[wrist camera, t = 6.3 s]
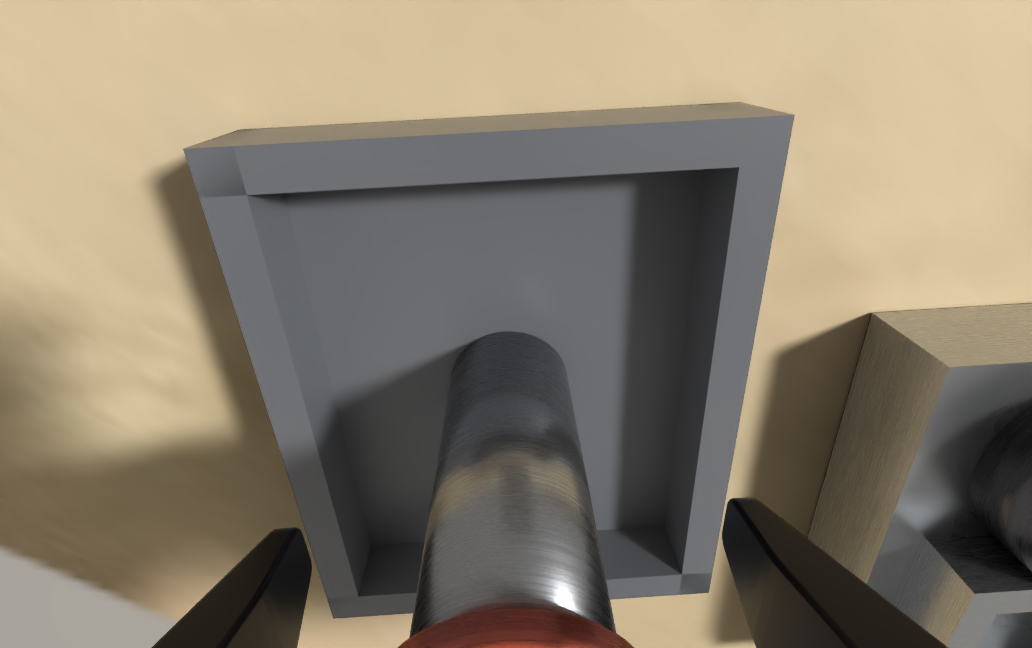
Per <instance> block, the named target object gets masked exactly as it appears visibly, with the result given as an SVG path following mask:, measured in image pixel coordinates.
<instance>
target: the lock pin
mask: <svg viewBox="0 0 1032 648" xmlns="http://www.w3.org/2000/svg"><path fill="white" fill-rule="evenodd" d="M398 648H634V647H633V646H632V645H631V644H630V643H628V642H627V641H626V640H625V639H624V638H622V637H621V636H619V635H618V634H616V629H615V624H614V619H613V613H612V608H611V603H610V597H609V592H608V587H607V582H606V576H605V571H604V566H603V561H602V555H601V550H600V545H599V539H598V534H597V529H596V524H595V518H594V513H593V508H592V502H591V497H590V492H589V487H588V481H587V476H586V471H585V466H584V460H583V455H582V450H581V444H580V439H579V434H578V429H577V423H576V418H575V413H574V408H573V402H572V397H571V392H570V386H569V381H568V376H567V371H566V367H565V365H564V362H563V360H562V359H561V357H560V355H559V354H558V353H557V352H556V350H555V349H554V348H553V347H551V346H550V345H549V344H548V343H546V342H545V341H543V340H541V339H539V338H538V337H535V336H532V335H530V334H526V333H521V332H498V333H493V334H489V335H487V336H484V337H482V338H480V339H478V340H476V341H474V342H473V343H471V344H470V345H469V346H468V347H466V348H465V349H464V350H463V351H462V353H461V354H460V355H459V357H458V358H457V360H456V362H455V364H454V366H453V369H452V373H451V379H450V386H449V392H448V398H447V405H446V411H445V417H444V424H443V430H442V436H441V442H440V449H439V455H438V461H437V468H436V474H435V480H434V487H433V493H432V499H431V505H430V512H429V518H428V524H427V531H426V537H425V543H424V549H423V556H422V562H421V568H420V575H419V581H418V587H417V594H416V600H415V606H414V612H413V619H412V625H411V631H410V638H409V639H408V640H406V641H405V642H404V643H402V644H401V645H400V646H399V647H398Z"/></svg>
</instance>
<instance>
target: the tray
mask: <svg viewBox="0 0 1032 648" xmlns="http://www.w3.org/2000/svg"><path fill="white" fill-rule="evenodd" d="M793 120H794V115H793V114H788V113H784V112H780V111H776V110H771V109H767V108H763V107H758V106H754V105H750V104H746V103H741V102H734V103H716V104H698V105H679V106H661V107H643V108H625V109H607V110H589V111H570V112H552V113H534V114H516V115H498V116H480V117H462V118H443V119H425V120H407V121H389V122H371V123H353V124H334V125H316V126H298V127H280V128H262V129H244V130H237V131H234V132H231V133H228V134H225V135H222V136H219V137H217V138H214V139H211V140H208V141H205V142H202V143H199V144H196V145H193V146H190V147H187V148H184V149H183V150H184V153H185V156H186V159H187V162H188V165H189V168H190V172H191V175H192V178H193V181H194V184H195V187H196V190H197V193H198V197H199V200H200V203H201V206H202V209H203V212H204V215H205V218H206V222H207V225H208V228H209V231H210V234H211V237H212V240H213V243H214V247H215V250H216V253H217V256H218V259H219V262H220V265H221V268H222V272H223V275H224V278H225V281H226V284H227V287H228V290H229V293H230V297H231V300H232V303H233V306H234V309H235V312H236V315H237V318H238V322H239V325H240V328H241V331H242V334H243V337H244V340H245V343H246V346H247V350H248V353H249V356H250V359H251V362H252V365H253V368H254V371H255V375H256V378H257V381H258V384H259V387H260V390H261V393H262V396H263V400H264V403H265V406H266V409H267V412H268V415H269V418H270V421H271V425H272V428H273V431H274V434H275V437H276V440H277V443H278V446H279V450H280V453H281V456H282V459H283V462H284V465H285V468H286V471H287V475H288V478H289V481H290V484H291V487H292V490H293V493H294V496H295V500H296V503H297V506H298V509H299V512H300V515H301V518H302V521H303V525H304V528H305V531H306V534H307V537H308V540H309V543H310V546H311V550H312V553H313V556H314V559H315V562H316V565H317V568H318V571H319V574H320V578H321V581H322V584H323V587H324V590H325V593H326V596H327V599H328V603H329V606H330V609H331V612H332V615H333V618H348V617H363V616H377V615H392V614H406V613H413V612H414V606H415V600H416V594H417V587H418V581H419V575H420V568H421V562H422V556H423V549H424V543H425V537H426V531H427V524H428V518H429V512H430V505H431V499H432V493H433V487H434V480H435V474H436V468H437V461H438V455H439V449H440V442H441V436H442V430H443V424H444V417H445V411H446V405H447V398H448V392H449V386H450V379H451V373H452V369H453V366H454V364H455V362H456V360H457V358H458V357H459V355H460V354H461V353H462V351H463V350H464V349H465V348H466V347H468V346H469V345H470V344H471V343H473V342H474V341H476V340H478V339H480V338H482V337H484V336H487V335H489V334H493V333H498V332H521V333H526V334H530V335H532V336H535V337H538V338H539V339H541V340H543V341H545V342H546V343H548V344H549V345H550V346H551V347H553V348H554V349H555V350H556V352H557V353H558V354H559V355H560V357H561V359H562V360H563V362H564V365H565V367H566V371H567V376H568V381H569V386H570V392H571V397H572V402H573V408H574V413H575V418H576V423H577V429H578V434H579V439H580V444H581V450H582V455H583V460H584V466H585V471H586V476H587V481H588V487H589V492H590V497H591V502H592V508H593V513H594V518H595V524H596V529H597V534H598V539H599V545H600V550H601V555H602V561H603V566H604V571H605V576H606V582H607V587H608V592H609V597H610V599H624V598H638V597H653V596H667V595H682V594H696V593H709V588H710V583H711V577H712V571H713V566H714V560H715V555H716V549H717V544H718V538H719V532H720V527H721V521H722V516H723V510H724V505H725V499H726V493H727V488H728V482H729V477H730V471H731V466H732V460H733V454H734V449H735V443H736V438H737V432H738V427H739V421H740V415H741V410H742V404H743V399H744V393H745V388H746V382H747V376H748V371H749V365H750V360H751V354H752V349H753V343H754V337H755V332H756V326H757V321H758V315H759V310H760V304H761V298H762V293H763V287H764V282H765V276H766V271H767V265H768V259H769V254H770V248H771V243H772V237H773V232H774V226H775V220H776V215H777V209H778V204H779V198H780V193H781V187H782V181H783V176H784V170H785V165H786V159H787V154H788V148H789V142H790V137H791V131H792V126H793Z"/></svg>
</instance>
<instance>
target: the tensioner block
mask: <svg viewBox="0 0 1032 648" xmlns="http://www.w3.org/2000/svg"><path fill="white" fill-rule="evenodd" d="M808 539H809V540H810V541H812V542H813V543H814V544H816V545H817V546H818V547H819V548H821V549H822V550H823V551H825V552H826V553H827V554H828V555H830V556H831V557H832V558H834V559H835V560H836V561H837V562H839V563H840V564H841V565H843V566H844V567H845V568H846V569H848V570H849V571H850V572H852V573H853V574H854V575H855V576H857V577H858V578H859V579H861V580H862V581H863V582H865V583H866V584H867V585H868V586H870V587H871V588H872V589H874V590H875V591H876V592H877V593H879V594H880V595H881V596H883V597H884V598H885V599H886V600H888V601H889V602H890V603H892V604H893V605H894V606H895V607H897V608H898V609H899V610H901V611H902V612H903V613H904V614H906V615H907V616H908V617H910V618H911V619H912V620H913V621H915V622H916V623H917V624H919V625H920V626H921V627H922V628H924V629H925V630H926V631H928V632H929V633H930V634H932V635H933V636H934V637H935V638H937V639H938V640H939V641H941V642H942V643H943V644H944V645H946V646H947V647H948V648H1032V303H1025V304H1009V305H993V306H976V307H960V308H944V309H928V310H911V311H895V312H879V313H872V316H871V319H870V323H869V326H868V330H867V333H866V337H865V340H864V344H863V347H862V350H861V354H860V357H859V361H858V364H857V368H856V371H855V375H854V378H853V382H852V385H851V389H850V392H849V396H848V399H847V403H846V406H845V410H844V413H843V417H842V420H841V423H840V427H839V430H838V434H837V437H836V441H835V444H834V448H833V451H832V455H831V458H830V462H829V465H828V469H827V472H826V476H825V479H824V483H823V486H822V489H821V493H820V496H819V500H818V503H817V507H816V510H815V514H814V517H813V521H812V524H811V528H810V531H809V535H808Z"/></svg>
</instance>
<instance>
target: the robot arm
mask: <svg viewBox="0 0 1032 648" xmlns="http://www.w3.org/2000/svg"><path fill="white" fill-rule="evenodd" d="M722 540H723V546H724V549H725V552H726V556H727V559H728V562H729V565H730V568H731V572H732V575H733V578H734V581H735V584H736V588H737V591H738V594H739V597H740V600H741V603H742V607H743V610H744V613H745V616H746V619H747V623H748V626H749V629H750V632H751V635H752V638H753V640H754V643H755V645H756V648H948V647H947V646H946V645H944V644H943V643H942V642H941V641H939V640H938V639H937V638H935V637H934V636H933V635H932V634H930V633H929V632H928V631H926V630H925V629H924V628H922V627H921V626H920V625H919V624H917V623H916V622H915V621H913V620H912V619H911V618H910V617H908V616H907V615H906V614H904V613H903V612H902V611H901V610H899V609H898V608H897V607H895V606H894V605H893V604H892V603H890V602H889V601H888V600H886V599H885V598H884V597H883V596H881V595H880V594H879V593H877V592H876V591H875V590H874V589H872V588H871V587H870V586H868V585H867V584H866V583H865V582H863V581H862V580H861V579H859V578H858V577H857V576H855V575H854V574H853V573H852V572H850V571H849V570H848V569H846V568H845V567H844V566H843V565H841V564H840V563H839V562H837V561H836V560H835V559H834V558H832V557H831V556H830V555H828V554H827V553H826V552H825V551H823V550H822V549H821V548H819V547H818V546H817V545H816V544H814V543H813V542H812V541H810V540H809V539H808V538H807V537H805V536H804V535H803V534H801V533H800V532H799V531H798V530H796V529H795V528H794V527H792V526H791V525H790V524H789V523H787V522H786V521H785V520H783V519H782V518H781V517H779V516H778V515H777V514H776V513H774V512H773V511H772V510H770V509H769V508H768V507H767V506H765V505H764V504H763V503H761V502H760V501H759V500H757V499H755V498H752V497H746V498H733V499H730V500H729V502H728V504H727V509H726V514H725V520H724V525H723V531H722ZM311 570H312V565H311V559H310V556H309V553H308V550H307V547H306V544H305V540H304V537H303V534H302V532H301V530H300V529H298V528H281V529H275V530H273V531H271V532H270V533H269V534H268V535H267V536H266V537H265V538H264V539H263V540H262V541H261V542H260V543H259V544H257V545H256V546H255V547H254V548H253V549H252V550H251V551H250V552H249V553H248V554H247V555H246V556H245V557H244V558H243V559H242V560H241V561H240V562H239V563H238V564H237V565H236V566H235V567H234V568H233V569H232V570H231V571H230V572H229V573H228V574H227V575H226V576H225V577H224V578H223V579H222V580H221V581H219V582H218V583H217V584H216V585H215V586H214V587H213V588H212V589H211V590H210V591H209V592H208V593H207V594H206V595H205V596H204V597H203V598H202V599H201V600H200V601H199V602H198V603H197V604H196V605H195V606H194V607H193V608H192V609H191V610H190V611H189V612H188V613H187V614H186V615H185V616H184V617H182V618H181V619H180V620H179V621H178V622H177V623H176V624H175V625H174V626H173V627H172V628H171V629H170V630H169V631H168V632H167V633H166V634H165V635H164V636H163V637H162V638H161V639H160V640H159V641H158V642H157V643H156V644H155V645H154V646H153V647H152V648H297V645H298V640H299V635H300V630H301V624H302V619H303V614H304V609H305V604H306V599H307V593H308V588H309V583H310V578H311Z"/></svg>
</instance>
